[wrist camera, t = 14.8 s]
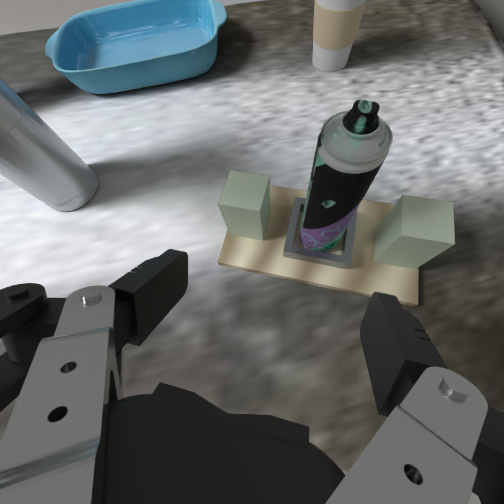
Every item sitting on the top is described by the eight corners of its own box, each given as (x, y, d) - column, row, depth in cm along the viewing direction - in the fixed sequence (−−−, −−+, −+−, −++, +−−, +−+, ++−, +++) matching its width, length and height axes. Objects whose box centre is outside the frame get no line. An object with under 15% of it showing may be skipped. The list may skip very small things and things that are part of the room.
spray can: (305, 257, 34) (341, 144, 16) (294, 223, 36) (314, 88, 18) (344, 248, 34) (425, 124, 16) (330, 214, 36) (388, 71, 18)
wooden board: (219, 265, 36) (217, 262, 35) (243, 186, 41) (243, 181, 40) (413, 306, 32) (418, 304, 31) (414, 212, 37) (419, 208, 36)
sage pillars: (229, 234, 37) (218, 203, 29) (238, 205, 38) (229, 170, 31) (414, 269, 32) (454, 244, 25) (414, 235, 34) (453, 202, 27)
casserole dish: (224, 20, 61) (218, -21, 54) (238, 78, 52) (233, 38, 45) (76, 51, 61) (51, 14, 55) (65, 114, 52) (35, 80, 46)
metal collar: (282, 256, 35) (283, 251, 33) (294, 204, 38) (295, 196, 36) (347, 269, 33) (351, 264, 31) (353, 214, 36) (357, 206, 34)
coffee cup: (318, 43, 54) (333, -66, 40) (359, 53, 51) (390, -59, 37) (299, 68, 51) (308, -38, 37) (341, 80, 49) (367, -29, 35)
